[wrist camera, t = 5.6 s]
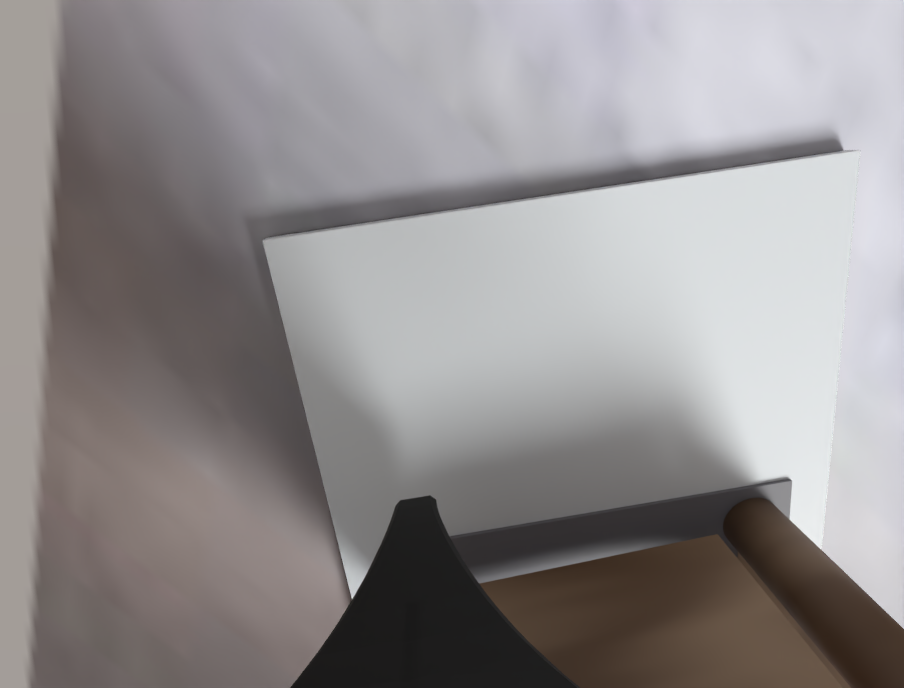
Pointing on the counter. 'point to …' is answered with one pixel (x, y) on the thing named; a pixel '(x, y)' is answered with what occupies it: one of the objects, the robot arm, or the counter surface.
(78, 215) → the counter surface
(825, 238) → the card
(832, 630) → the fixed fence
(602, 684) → the panel
